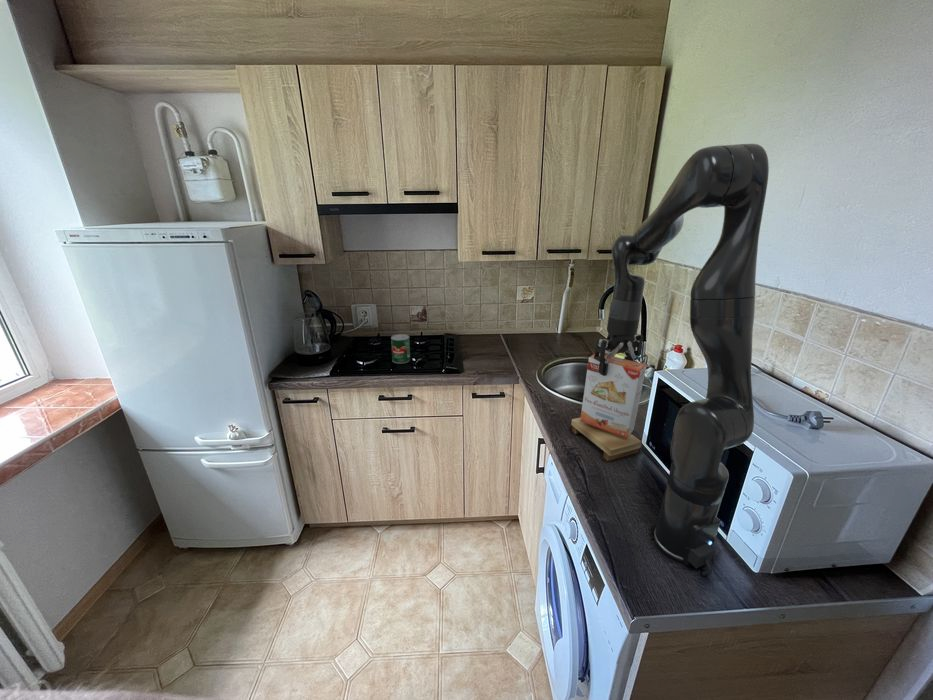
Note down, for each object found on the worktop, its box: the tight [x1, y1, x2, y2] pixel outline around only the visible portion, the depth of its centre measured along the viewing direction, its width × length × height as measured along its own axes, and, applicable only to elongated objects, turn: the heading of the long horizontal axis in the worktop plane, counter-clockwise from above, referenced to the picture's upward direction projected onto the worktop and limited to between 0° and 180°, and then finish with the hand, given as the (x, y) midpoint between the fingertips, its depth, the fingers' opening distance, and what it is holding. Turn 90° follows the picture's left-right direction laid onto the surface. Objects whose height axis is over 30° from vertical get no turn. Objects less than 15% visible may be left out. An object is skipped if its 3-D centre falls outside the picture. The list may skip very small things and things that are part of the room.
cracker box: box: [580, 353, 648, 438], centre depth 107 cm, size 14×6×21 cm, turn 50°
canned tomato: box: [390, 333, 411, 365], centre depth 167 cm, size 8×8×11 cm
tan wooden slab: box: [570, 416, 643, 462], centre depth 112 cm, size 17×11×4 cm, turn 22°
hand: (614, 372), depth 105 cm, fingers closed on cracker box, 8 cm apart
